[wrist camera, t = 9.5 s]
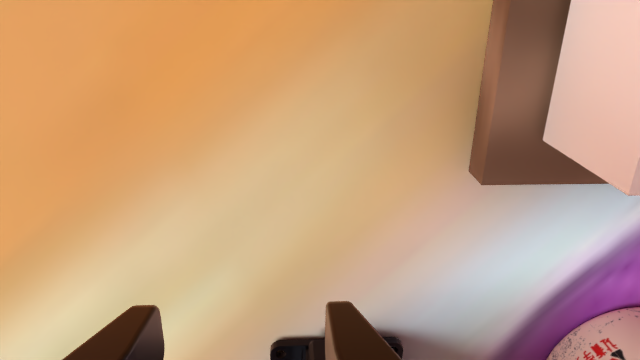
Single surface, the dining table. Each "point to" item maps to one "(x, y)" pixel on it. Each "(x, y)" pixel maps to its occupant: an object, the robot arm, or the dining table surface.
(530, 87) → the gauge board
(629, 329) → the cream canister
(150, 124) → the dining table surface
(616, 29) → the pink rectangular block
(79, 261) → the dining table surface
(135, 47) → the dining table surface
